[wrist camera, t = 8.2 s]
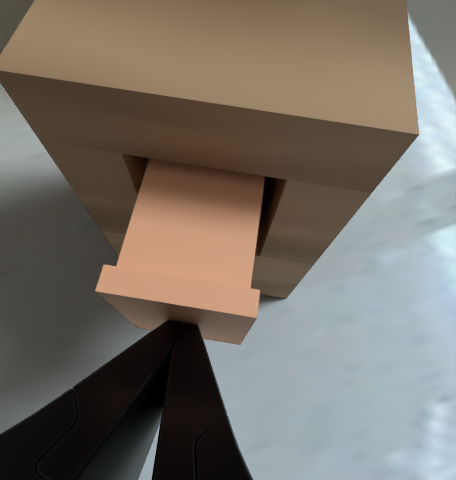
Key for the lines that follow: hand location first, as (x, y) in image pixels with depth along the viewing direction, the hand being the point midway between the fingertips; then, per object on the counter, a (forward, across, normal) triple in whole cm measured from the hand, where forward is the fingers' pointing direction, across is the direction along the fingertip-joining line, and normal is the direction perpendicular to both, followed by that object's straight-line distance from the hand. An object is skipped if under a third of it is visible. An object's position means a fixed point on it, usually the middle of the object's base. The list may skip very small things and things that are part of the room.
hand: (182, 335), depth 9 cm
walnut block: (+10, 0, 0) cm, 10 cm away
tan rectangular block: (+4, 0, -2) cm, 5 cm away
